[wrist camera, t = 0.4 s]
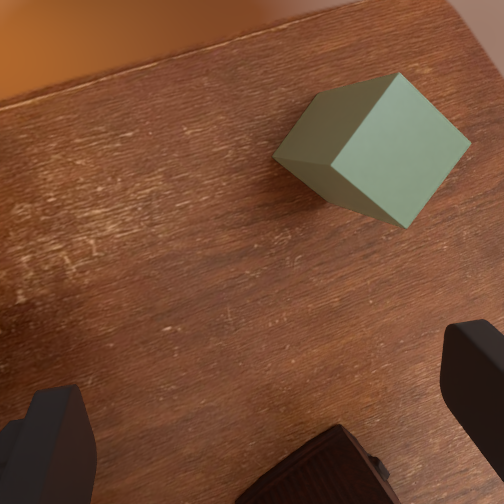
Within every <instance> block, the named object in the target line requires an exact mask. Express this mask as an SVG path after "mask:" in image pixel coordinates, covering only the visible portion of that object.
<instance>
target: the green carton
mask: <svg viewBox="0 0 504 504" xmlns="http://www.w3.org/2000/svg"><path fill="white" fill-rule="evenodd" d="M470 145H471V142H470V141H469V140H468V139H467V138H466V137H465V136H464V135H463V134H462V133H461V132H460V131H459V130H458V129H457V128H456V127H455V126H453V125H452V124H451V123H450V122H449V121H448V120H447V119H446V118H445V117H444V116H443V115H442V114H441V113H440V112H439V111H438V110H437V109H436V108H435V107H434V106H433V105H432V104H431V103H430V102H429V101H428V100H427V99H426V98H425V97H424V96H423V95H422V94H421V93H420V92H419V91H418V90H417V89H416V88H415V87H414V86H413V85H412V84H411V83H410V82H409V81H408V80H407V79H406V78H405V77H404V76H403V75H402V74H401V73H399V72H398V73H394V74H390V75H386V76H383V77H379V78H375V79H371V80H367V81H363V82H359V83H355V84H351V85H347V86H343V87H339V88H335V89H331V90H327V91H324V92H320V93H318V94H317V95H316V97H315V98H314V99H313V101H312V102H311V103H310V105H309V106H308V108H307V109H306V110H305V112H304V113H303V114H302V116H301V117H300V118H299V120H298V121H297V123H296V124H295V125H294V127H293V128H292V129H291V131H290V132H289V134H288V135H287V136H286V138H285V139H284V140H283V142H282V143H281V145H280V146H279V147H278V149H277V150H276V151H275V153H274V154H273V156H272V158H274V159H275V160H276V161H277V162H279V163H280V164H281V165H282V166H284V167H285V168H286V169H287V170H289V171H290V172H291V173H292V174H293V175H295V176H296V177H297V178H298V179H300V180H301V181H302V182H303V183H305V184H306V185H307V186H308V187H310V188H311V189H312V190H313V191H315V192H316V193H317V194H318V195H320V196H321V197H322V198H323V199H325V200H326V201H327V202H329V203H332V204H335V205H338V206H341V207H344V208H347V209H349V210H352V211H355V212H358V213H361V214H364V215H367V216H370V217H372V218H375V219H378V220H381V221H384V222H387V223H390V224H392V225H395V226H398V227H401V228H404V229H407V228H408V227H409V225H410V224H411V223H412V221H413V220H414V219H415V217H416V216H417V215H418V213H419V212H420V211H421V210H422V208H423V207H424V206H425V204H426V203H427V202H428V200H429V199H430V198H431V196H432V195H433V194H434V192H435V191H436V190H437V188H438V187H439V186H440V184H441V183H442V182H443V180H444V179H445V178H446V177H447V175H448V174H449V173H450V171H451V170H452V169H453V167H454V166H455V165H456V163H457V162H458V161H459V159H460V158H461V157H462V155H463V154H464V153H465V151H466V150H467V149H468V148H469V146H470Z"/></svg>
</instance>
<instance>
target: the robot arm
mask: <svg viewBox="0 0 504 504" xmlns="http://www.w3.org/2000/svg"><path fill="white" fill-rule="evenodd" d="M440 389H441V393H442V396H443V399H444V401H445V403H446V405H447V407H448V408H449V410H450V411H451V412H452V414H453V415H454V416H455V418H456V419H457V420H458V422H459V423H460V424H461V426H462V427H463V429H464V430H465V431H466V433H467V434H468V435H469V437H470V438H471V439H472V441H473V442H474V443H475V445H476V446H477V447H478V449H479V450H480V451H481V453H482V454H483V455H484V457H485V458H486V459H487V461H488V462H489V463H490V465H491V466H492V467H493V469H494V470H495V471H496V473H497V474H498V475H499V477H500V478H501V479H502V481H503V482H504V335H503V334H502V333H500V332H499V331H498V330H497V329H496V328H495V327H494V326H493V325H492V324H490V323H489V322H488V321H486V320H484V319H479V320H473V321H467V322H461V323H455V324H450V325H448V326H447V327H446V330H445V334H444V343H443V352H442V362H441V371H440ZM96 465H97V452H96V443H95V439H94V435H93V432H92V428H91V425H90V422H89V418H88V415H87V412H86V408H85V405H84V402H83V398H82V395H81V392H80V389H79V387H78V386H77V385H76V384H73V385H66V386H60V387H54V388H48V389H42V390H37V391H36V392H35V394H34V396H33V398H32V401H31V403H30V406H29V409H28V411H27V414H26V416H25V418H24V419H18V420H13V421H10V422H9V423H8V424H7V425H6V426H5V427H4V428H3V430H2V431H1V432H0V504H90V501H91V496H92V490H93V485H94V479H95V473H96Z"/></svg>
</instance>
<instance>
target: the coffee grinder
mask: <svg viewBox="0 0 504 504" xmlns="http://www.w3.org/2000/svg"><path fill="white" fill-rule="evenodd" d="M389 475H390V474H389V472H388V471H387V469H386V468H385V466H384V465H383V463H382V462H381V461H380V460H379V459H378V458H377V457H372V456H371V455H370V454H368V453H367V452H366V451H365V450H364V449H363V447H362V446H361V445H360V444H359V442H358V441H357V439H356V438H355V437H354V436H353V435H352V434H351V433H350V432H349V431H347V430H346V429H345V428H344V427H343V426H342V425H341V424H339V425H337V426H335V427H334V428H332V429H330V430H328V431H326V432H325V433H323V434H321V435H319V436H317V437H316V438H314V439H312V440H311V441H309V442H308V443H306V444H305V445H304V446H302V447H301V448H300V449H298V450H297V451H296V452H294V453H293V454H292V455H290V456H289V457H287V458H286V459H285V460H283V461H282V462H281V463H279V464H278V465H277V466H275V467H274V468H273V469H271V470H270V471H269V472H267V473H266V474H265V475H263V476H262V477H261V478H260V479H259V480H258V481H256V482H255V483H254V484H253V485H252V486H251V487H250V488H249V489H248V490H247V491H246V492H245V493H244V494H243V495H242V496H241V497H240V498H239V499H238V500H237V501H235V504H401V503H400V501H399V499H398V498H397V496H396V494H395V493H394V491H393V489H392V488H391V486H390V484H389V483H388V481H387V479H388V477H389Z"/></svg>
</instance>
